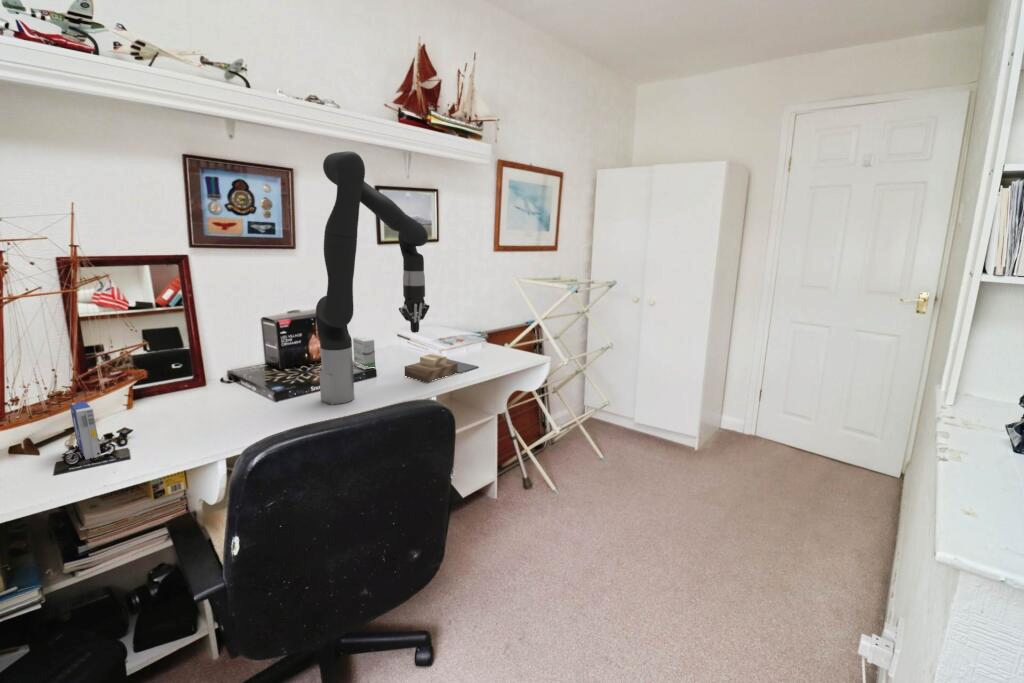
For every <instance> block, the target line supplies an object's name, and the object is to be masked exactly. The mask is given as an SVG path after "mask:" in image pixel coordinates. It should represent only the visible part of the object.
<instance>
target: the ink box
mask: <svg viewBox="0 0 1024 683" xmlns="http://www.w3.org/2000/svg"><path fill="white" fill-rule="evenodd" d="M352 344H353V345H352V348H353V360H354V361H353V363H354V362H357V363H359V364H362V365H364V366H368V367H375V368H376V353H375V352H376V351H375V339H372V338H369V337H366V336H359V337H358V336H357V337H353V338H352Z"/></svg>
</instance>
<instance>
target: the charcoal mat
mask: <svg viewBox="0 0 1024 683" xmlns="http://www.w3.org/2000/svg"><path fill="white" fill-rule="evenodd" d="M447 361H449V362H453V363H457V364H458V374H459V373H461V374H464V373H463V372H465V373H467V371H468V372H470V370H471V371H473V370H477V369H479V368H480V367H479V365H478V366H477V365H473V364H469V363H466V362H461V361H457V360H453V359H448V358H447Z"/></svg>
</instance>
